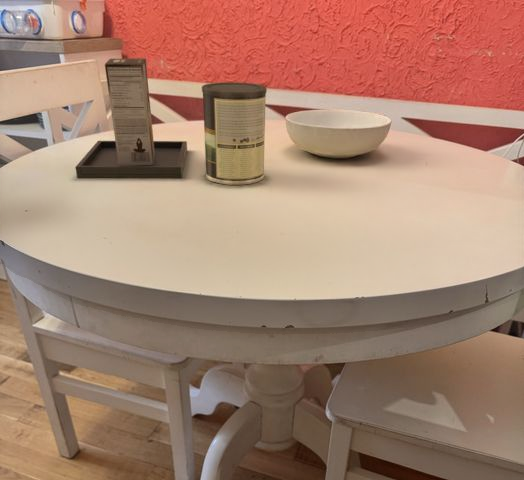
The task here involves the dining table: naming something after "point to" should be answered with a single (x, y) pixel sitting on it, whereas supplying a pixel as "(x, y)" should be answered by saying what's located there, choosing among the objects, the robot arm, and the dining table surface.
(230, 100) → the coffee can
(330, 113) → the serving bowl
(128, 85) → the coffee box
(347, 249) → the dining table surface
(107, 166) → the tray
